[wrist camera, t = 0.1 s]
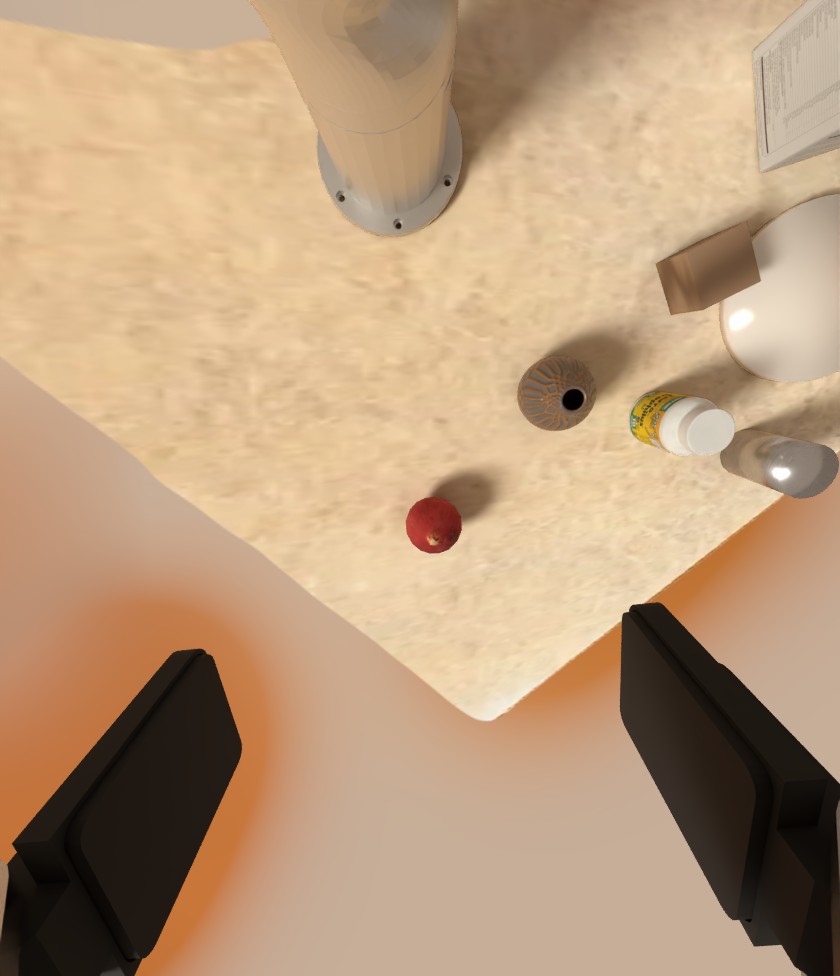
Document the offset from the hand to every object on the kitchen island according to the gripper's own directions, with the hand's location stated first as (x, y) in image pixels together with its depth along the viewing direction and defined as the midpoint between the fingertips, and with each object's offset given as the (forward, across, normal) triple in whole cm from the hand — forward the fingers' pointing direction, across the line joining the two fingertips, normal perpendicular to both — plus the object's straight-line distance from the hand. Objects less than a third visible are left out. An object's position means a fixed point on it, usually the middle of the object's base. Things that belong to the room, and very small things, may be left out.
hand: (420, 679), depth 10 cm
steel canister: (+37, -34, +7) cm, 50 cm away
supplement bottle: (+37, -24, +2) cm, 44 cm away
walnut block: (+37, -27, -11) cm, 47 cm away
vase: (+37, -13, -2) cm, 39 cm away
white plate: (+37, -38, -8) cm, 53 cm away
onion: (+37, 0, +10) cm, 38 cm away
